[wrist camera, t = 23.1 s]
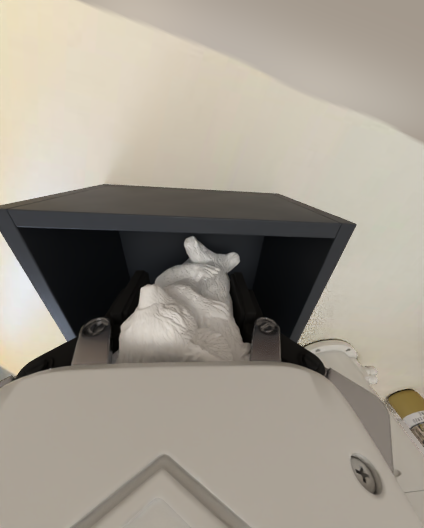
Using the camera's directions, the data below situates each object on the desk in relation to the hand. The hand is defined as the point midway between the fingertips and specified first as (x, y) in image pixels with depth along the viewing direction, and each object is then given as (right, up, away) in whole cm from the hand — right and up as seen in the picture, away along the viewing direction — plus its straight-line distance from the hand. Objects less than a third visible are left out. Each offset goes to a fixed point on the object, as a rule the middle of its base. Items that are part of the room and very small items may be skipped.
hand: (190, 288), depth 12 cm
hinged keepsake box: (0, +3, +7) cm, 8 cm away
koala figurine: (+1, +2, +3) cm, 4 cm away
